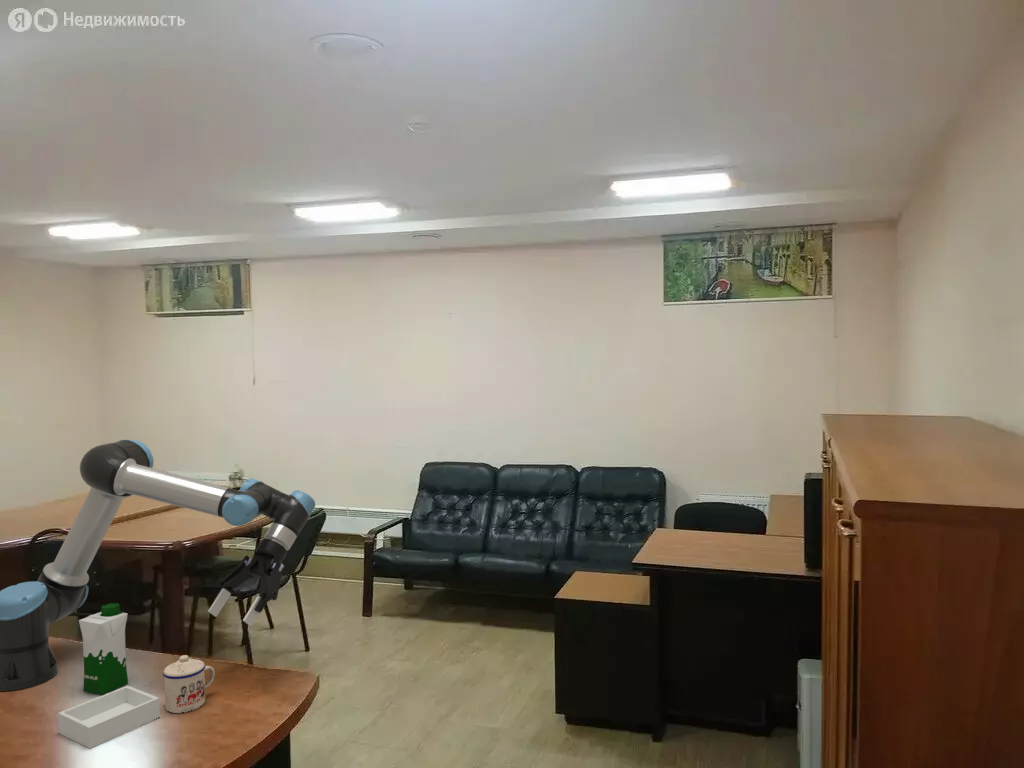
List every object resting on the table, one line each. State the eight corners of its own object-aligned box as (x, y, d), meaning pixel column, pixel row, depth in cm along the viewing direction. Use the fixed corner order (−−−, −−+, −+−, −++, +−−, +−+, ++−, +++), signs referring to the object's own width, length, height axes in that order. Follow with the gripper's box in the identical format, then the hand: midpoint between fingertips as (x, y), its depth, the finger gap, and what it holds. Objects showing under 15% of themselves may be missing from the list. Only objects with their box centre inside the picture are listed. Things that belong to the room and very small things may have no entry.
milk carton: (134, 682, 186) (131, 604, 185) (102, 698, 178) (99, 616, 177) (109, 677, 190) (106, 600, 189) (76, 692, 181) (73, 612, 180)
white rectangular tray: (58, 733, 161) (58, 713, 161) (128, 704, 174) (127, 685, 174) (89, 748, 155) (89, 727, 154) (159, 717, 168) (159, 698, 168)
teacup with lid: (177, 718, 167) (175, 667, 167) (156, 707, 173) (154, 658, 172) (225, 698, 177) (223, 650, 176) (204, 688, 182) (202, 642, 182)
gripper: (316, 558, 191) (271, 634, 179) (253, 547, 204) (207, 617, 192) (299, 542, 186) (252, 619, 174) (236, 532, 200) (188, 603, 188)
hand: (229, 618), depth 183 cm, fingers open, 13 cm apart
